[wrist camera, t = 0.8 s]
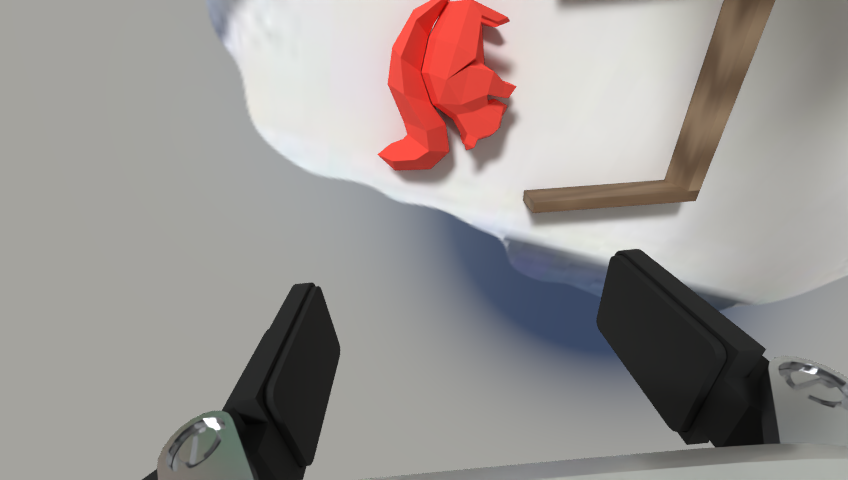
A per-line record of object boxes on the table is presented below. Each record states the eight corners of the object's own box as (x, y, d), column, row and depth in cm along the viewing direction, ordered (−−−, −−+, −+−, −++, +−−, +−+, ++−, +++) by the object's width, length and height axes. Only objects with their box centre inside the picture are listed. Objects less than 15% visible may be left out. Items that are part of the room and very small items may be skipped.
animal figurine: (366, 152, 33) (358, 167, 29) (411, -16, 26) (409, -31, 22) (465, 186, 35) (471, 205, 31) (531, 39, 28) (552, 36, 24)
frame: (548, -60, 25) (567, -77, 22) (764, -77, 25) (813, -97, 22) (523, 200, 36) (533, 212, 33) (671, 189, 36) (695, 200, 33)
